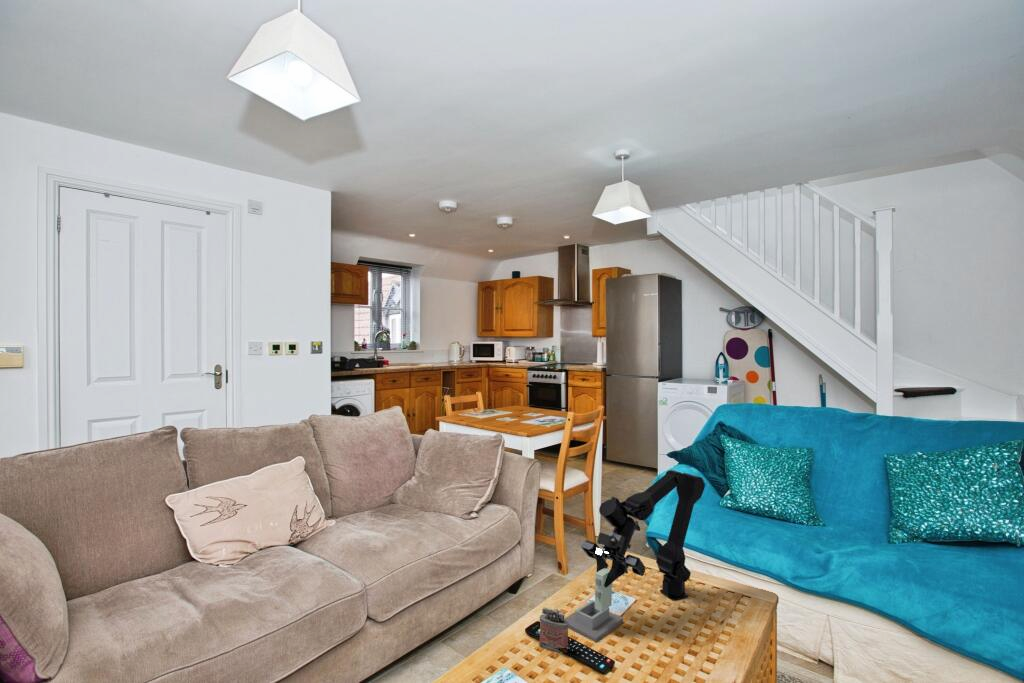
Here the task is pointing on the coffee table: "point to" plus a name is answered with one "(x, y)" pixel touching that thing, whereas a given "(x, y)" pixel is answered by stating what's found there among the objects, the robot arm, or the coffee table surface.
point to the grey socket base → (593, 621)
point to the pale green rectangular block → (602, 590)
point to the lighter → (553, 630)
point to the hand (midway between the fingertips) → (600, 585)
